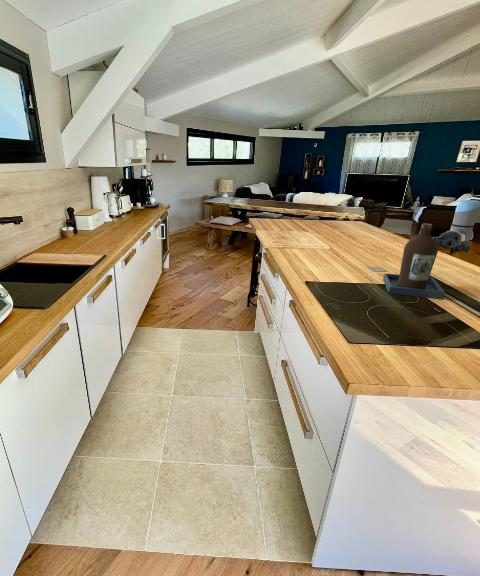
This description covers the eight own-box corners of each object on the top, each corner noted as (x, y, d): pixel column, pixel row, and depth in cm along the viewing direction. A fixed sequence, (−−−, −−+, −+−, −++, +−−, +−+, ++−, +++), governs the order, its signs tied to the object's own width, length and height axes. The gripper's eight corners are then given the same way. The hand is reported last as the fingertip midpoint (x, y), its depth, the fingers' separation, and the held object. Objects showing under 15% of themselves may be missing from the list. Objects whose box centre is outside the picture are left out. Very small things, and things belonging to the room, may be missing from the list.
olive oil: (391, 281, 131) (405, 221, 122) (420, 282, 129) (436, 221, 120) (401, 290, 122) (417, 226, 112) (432, 292, 119) (451, 227, 110)
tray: (431, 284, 129) (433, 277, 128) (443, 299, 115) (445, 292, 114) (383, 279, 136) (384, 273, 135) (388, 293, 122) (390, 286, 121)
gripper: (485, 253, 128) (466, 263, 117) (416, 242, 147) (395, 250, 136) (491, 235, 125) (473, 244, 114) (420, 226, 144) (399, 233, 133)
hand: (430, 247), depth 125 cm, fingers open, 13 cm apart
